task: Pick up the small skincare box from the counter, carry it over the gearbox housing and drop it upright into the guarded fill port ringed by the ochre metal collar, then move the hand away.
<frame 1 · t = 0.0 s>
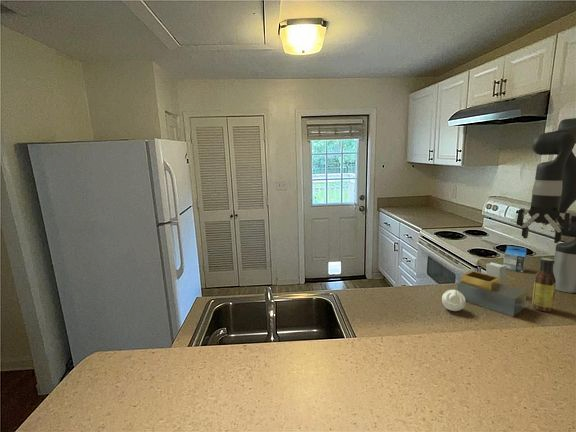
hand: (540, 240, 106), 29 cm above the table, tool pointing down, fingers open, 8 cm apart
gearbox: (489, 302, 123), on the table
label tape box: (513, 270, 162), on the table
sauce bottle: (541, 309, 118), on the table
white swirled ball: (452, 310, 118), on the table
skincare box: (493, 291, 135), on the table
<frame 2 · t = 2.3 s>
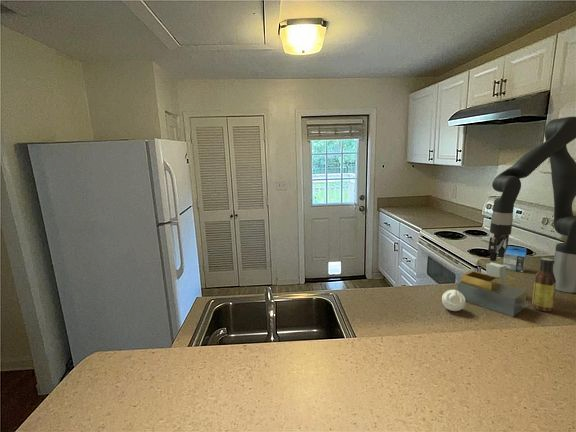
hand: (496, 259, 133), 15 cm above the table, tool pointing down, fingers open, 8 cm apart
nothing on the table moved.
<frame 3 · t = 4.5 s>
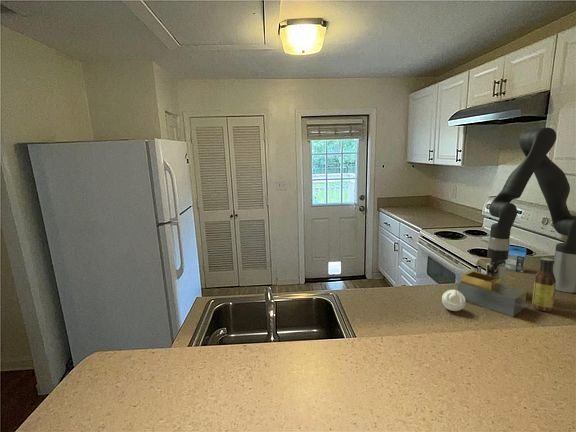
hand: (494, 284, 135), 3 cm above the table, tool pointing down, fingers closed on skincare box, 4 cm apart
skincare box: (493, 291, 135), on the table, touching gripper
everything else where it was.
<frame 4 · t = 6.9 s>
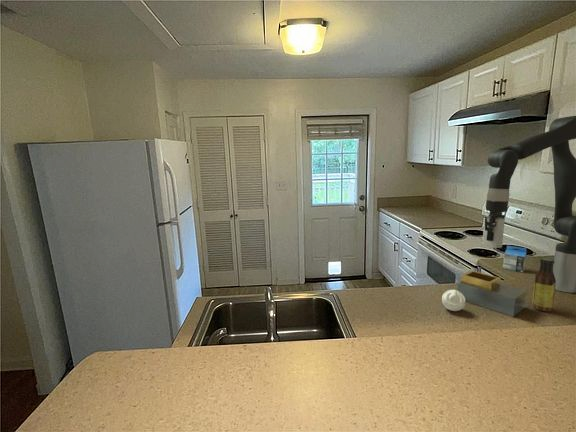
hand: (492, 239, 128), 24 cm above the table, tool pointing down, fingers closed on skincare box, 4 cm apart
skincare box: (491, 246, 129), point 21 cm above the table, touching gripper
everything else where it was.
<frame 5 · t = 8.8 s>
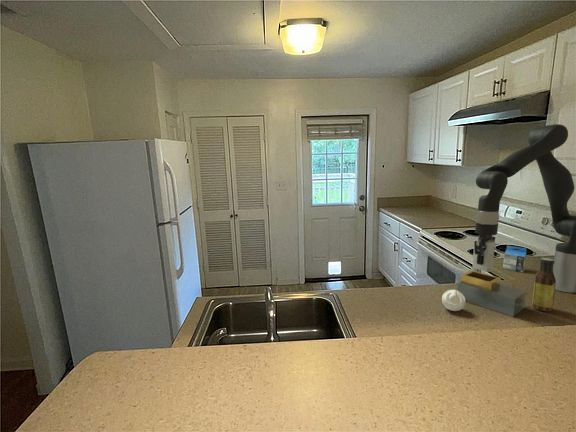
hand: (482, 262, 124), 16 cm above the table, tool pointing down, fingers closed on skincare box, 4 cm apart
skincare box: (481, 269, 125), point 13 cm above the table, touching gripper
everything else where it was.
when the fingers open (15 cm above the table, at t = 9.9 s): skincare box drops 10 cm, resting on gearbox.
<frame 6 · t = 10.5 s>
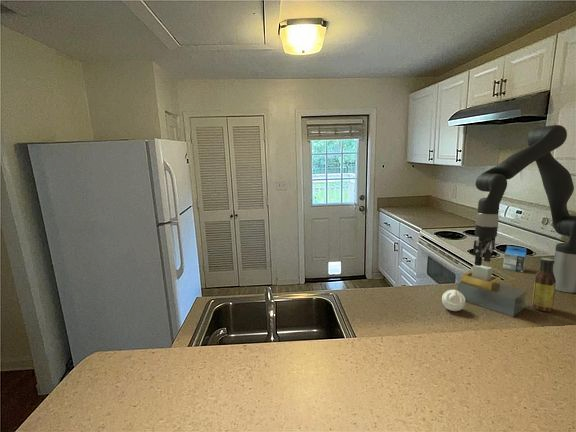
hand: (482, 263, 124), 16 cm above the table, tool pointing down, fingers open, 8 cm apart
skincare box: (478, 294, 126), point 2 cm above the table, touching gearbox
everything else where it was.
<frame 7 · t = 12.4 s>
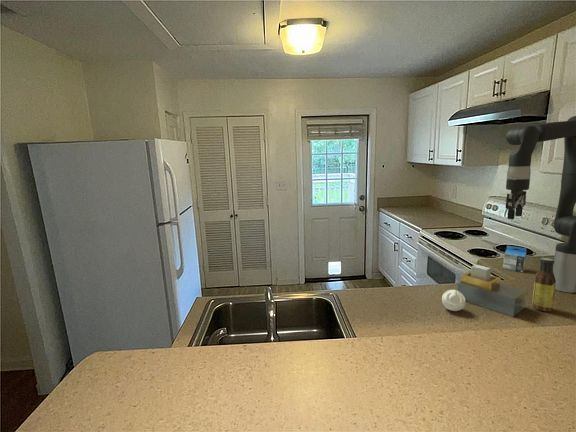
hand: (514, 217, 125), 34 cm above the table, tool pointing down, fingers open, 8 cm apart
nothing on the table moved.
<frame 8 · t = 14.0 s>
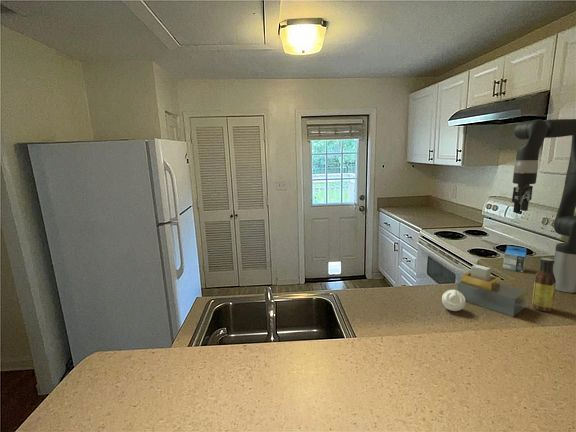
hand: (520, 211, 125), 36 cm above the table, tool pointing down, fingers open, 8 cm apart
nothing on the table moved.
at the end: skincare box 0.2 cm from the target spot on the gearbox, point 1.8 cm above the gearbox's base; skincare box tilted 0°; the gripper is holding nothing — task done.
